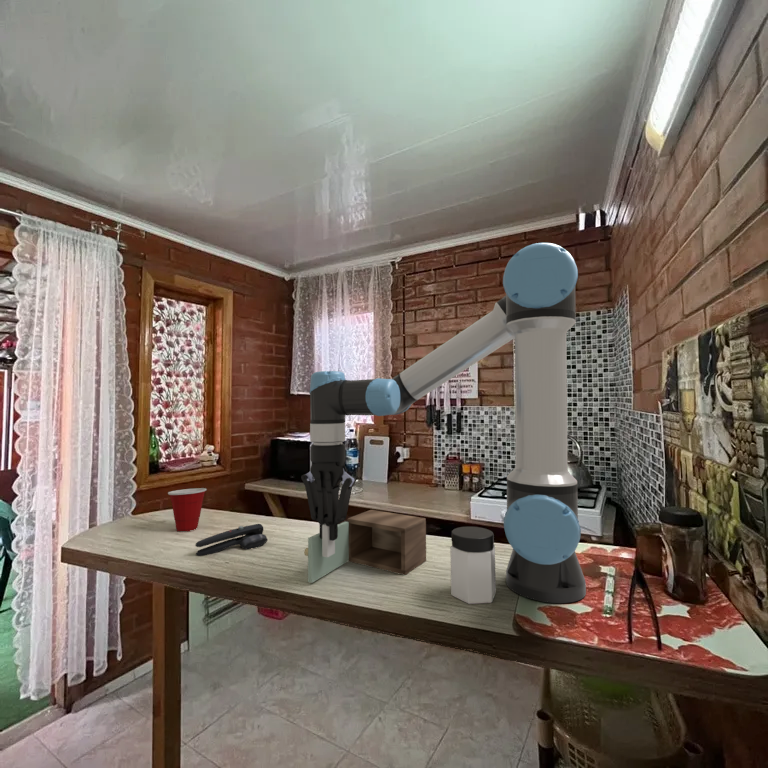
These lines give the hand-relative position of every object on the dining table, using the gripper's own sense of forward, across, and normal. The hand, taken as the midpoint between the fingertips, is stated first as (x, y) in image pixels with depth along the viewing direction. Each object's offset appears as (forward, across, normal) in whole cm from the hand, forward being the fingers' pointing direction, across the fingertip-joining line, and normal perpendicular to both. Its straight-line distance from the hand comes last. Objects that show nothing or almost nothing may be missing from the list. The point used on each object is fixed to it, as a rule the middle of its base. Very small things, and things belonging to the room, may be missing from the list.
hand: (328, 554), depth 88 cm
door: (+5, +3, -4) cm, 7 cm away
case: (+6, -6, -16) cm, 18 cm away
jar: (+6, -29, -7) cm, 31 cm away
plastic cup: (+5, +61, -13) cm, 62 cm away
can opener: (+6, +35, -6) cm, 36 cm away
